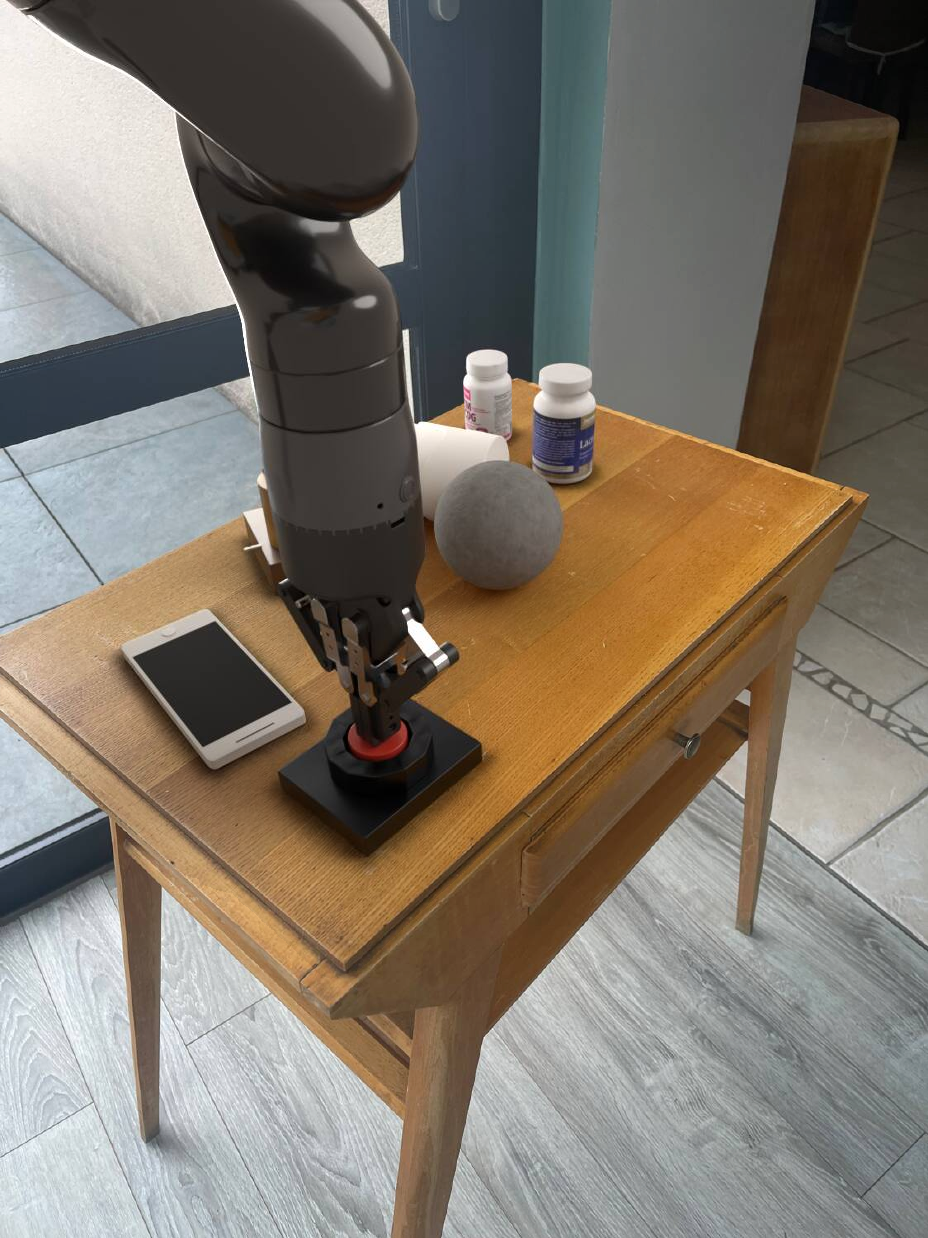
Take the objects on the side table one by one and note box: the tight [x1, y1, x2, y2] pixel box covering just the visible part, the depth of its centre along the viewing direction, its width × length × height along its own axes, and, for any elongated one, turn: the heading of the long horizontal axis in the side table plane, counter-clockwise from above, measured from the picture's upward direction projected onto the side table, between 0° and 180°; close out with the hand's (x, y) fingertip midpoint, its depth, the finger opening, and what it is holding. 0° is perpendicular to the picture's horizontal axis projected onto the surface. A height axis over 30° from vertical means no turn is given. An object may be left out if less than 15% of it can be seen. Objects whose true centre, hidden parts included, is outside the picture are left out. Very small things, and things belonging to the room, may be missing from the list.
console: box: [242, 507, 287, 596], centre depth 78 cm, size 11×10×3 cm
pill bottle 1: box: [463, 349, 513, 442], centre depth 93 cm, size 5×5×8 cm
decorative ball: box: [433, 460, 564, 591], centre depth 73 cm, size 10×10×10 cm
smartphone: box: [120, 608, 307, 770], centre depth 66 cm, size 7×16×1 cm, turn 38°
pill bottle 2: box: [531, 362, 597, 485], centre depth 86 cm, size 6×6×10 cm
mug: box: [414, 421, 510, 522], centre depth 82 cm, size 12×9×8 cm
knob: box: [256, 468, 279, 549], centre depth 74 cm, size 4×4×6 cm
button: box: [348, 721, 409, 762], centre depth 57 cm, size 4×4×2 cm
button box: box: [277, 697, 483, 858], centre depth 58 cm, size 10×8×4 cm
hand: (378, 734), depth 57 cm, fingers closed
